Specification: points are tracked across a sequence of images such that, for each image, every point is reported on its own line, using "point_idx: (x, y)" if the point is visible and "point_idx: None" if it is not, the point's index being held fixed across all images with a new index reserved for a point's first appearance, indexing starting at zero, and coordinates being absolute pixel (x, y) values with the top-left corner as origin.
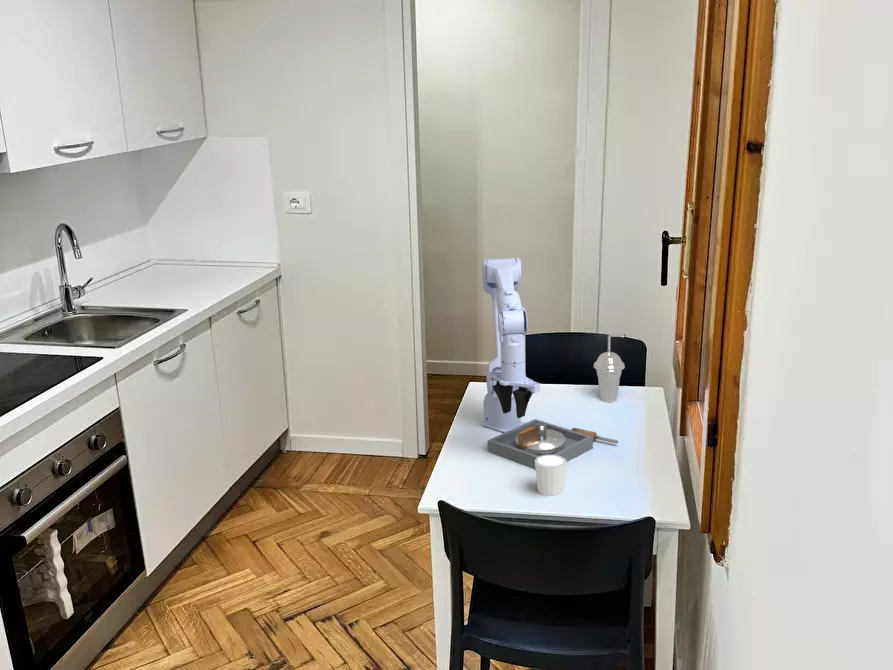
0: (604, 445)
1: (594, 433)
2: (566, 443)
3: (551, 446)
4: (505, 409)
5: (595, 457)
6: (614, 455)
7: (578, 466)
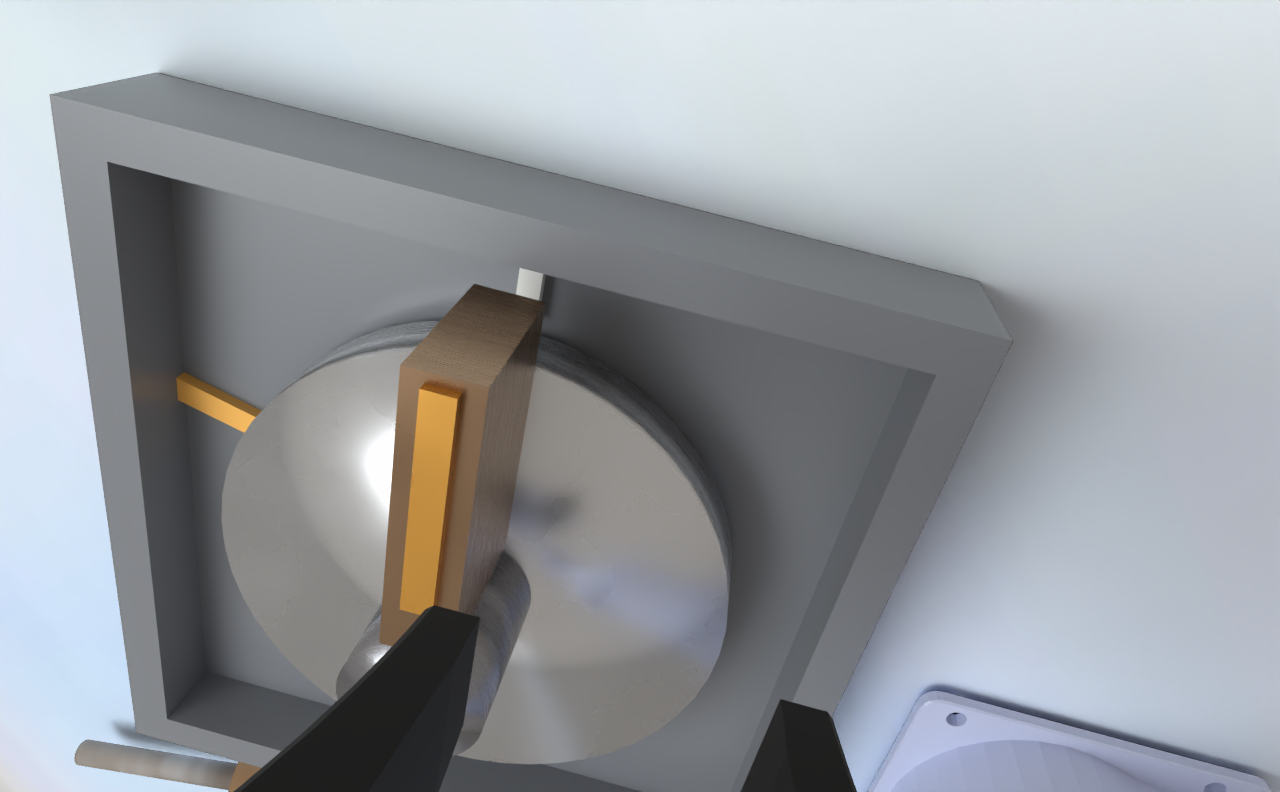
0: None
1: None
2: None
3: (255, 455)
4: (774, 780)
5: (82, 535)
6: (16, 604)
7: (54, 341)
